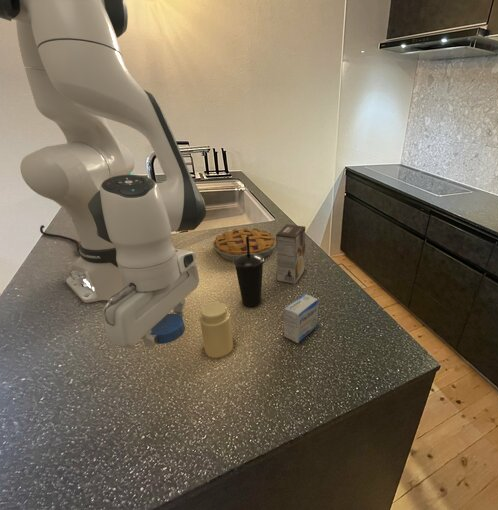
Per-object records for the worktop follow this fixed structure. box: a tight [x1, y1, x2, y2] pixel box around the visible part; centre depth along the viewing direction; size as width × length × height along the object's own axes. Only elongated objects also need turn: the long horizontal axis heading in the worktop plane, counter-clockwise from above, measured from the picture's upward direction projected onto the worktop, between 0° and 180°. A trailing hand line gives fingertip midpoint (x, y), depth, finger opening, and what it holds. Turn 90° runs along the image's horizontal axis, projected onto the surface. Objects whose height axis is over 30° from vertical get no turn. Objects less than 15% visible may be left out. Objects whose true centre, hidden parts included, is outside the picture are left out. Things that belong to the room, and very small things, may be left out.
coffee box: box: [275, 223, 306, 284], centre depth 96 cm, size 9×6×16 cm
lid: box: [150, 313, 186, 345], centre depth 60 cm, size 6×6×2 cm
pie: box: [212, 227, 276, 262], centre depth 111 cm, size 22×22×5 cm
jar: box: [199, 301, 234, 359], centre depth 67 cm, size 6×6×11 cm
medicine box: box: [283, 293, 319, 344], centre depth 74 cm, size 8×4×9 cm, turn 148°
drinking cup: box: [232, 237, 265, 309], centre depth 80 cm, size 8×8×20 cm
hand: (166, 330), depth 60 cm, fingers closed on lid, 6 cm apart
